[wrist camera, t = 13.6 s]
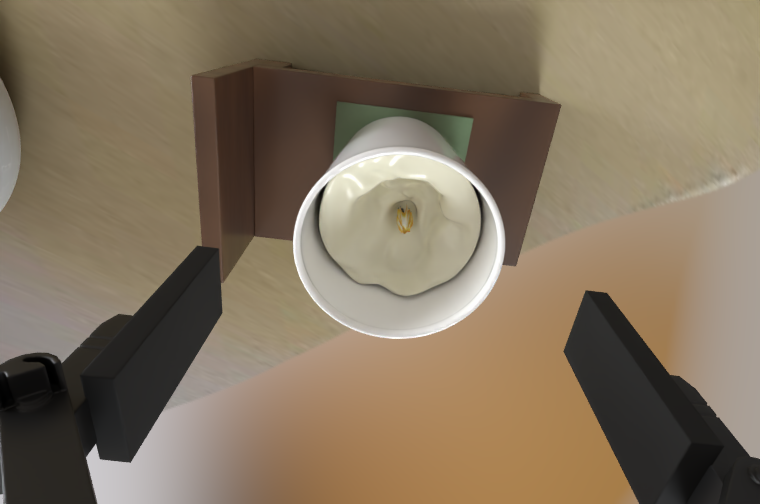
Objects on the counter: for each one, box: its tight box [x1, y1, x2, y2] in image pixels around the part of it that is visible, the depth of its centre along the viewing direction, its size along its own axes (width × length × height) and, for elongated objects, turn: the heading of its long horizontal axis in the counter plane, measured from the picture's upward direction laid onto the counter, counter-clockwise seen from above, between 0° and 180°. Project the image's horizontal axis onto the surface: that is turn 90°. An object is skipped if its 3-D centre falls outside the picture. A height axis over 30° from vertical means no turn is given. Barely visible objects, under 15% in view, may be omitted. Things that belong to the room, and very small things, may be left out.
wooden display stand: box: [191, 59, 561, 283], centre depth 31 cm, size 21×12×12 cm, turn 83°
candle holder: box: [293, 116, 505, 339], centre depth 27 cm, size 10×10×12 cm
